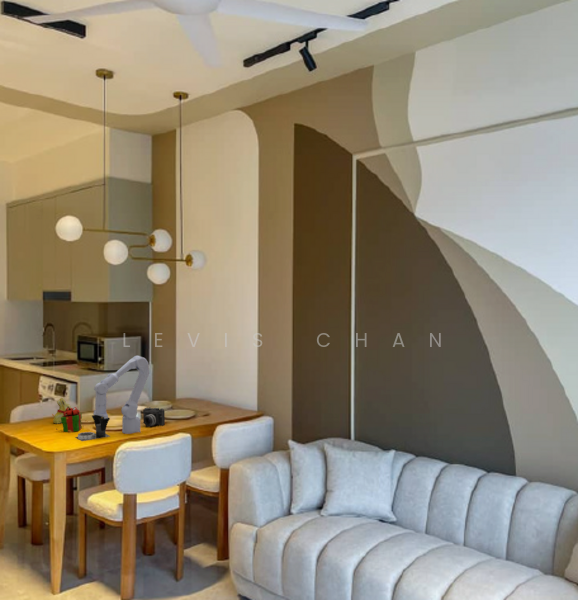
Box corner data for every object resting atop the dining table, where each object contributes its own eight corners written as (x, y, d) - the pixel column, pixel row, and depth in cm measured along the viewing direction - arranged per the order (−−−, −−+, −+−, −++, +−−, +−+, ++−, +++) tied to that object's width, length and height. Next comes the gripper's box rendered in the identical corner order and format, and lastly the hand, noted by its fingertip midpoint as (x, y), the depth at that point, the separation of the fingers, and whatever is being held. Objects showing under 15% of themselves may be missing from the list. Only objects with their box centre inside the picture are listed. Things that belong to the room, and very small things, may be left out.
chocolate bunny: (73, 421, 359) (73, 397, 358) (55, 424, 351) (55, 399, 350) (67, 419, 364) (67, 395, 363) (50, 422, 356) (50, 397, 355)
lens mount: (103, 434, 331) (103, 428, 331) (110, 438, 324) (110, 432, 323) (74, 438, 321) (74, 433, 321) (81, 443, 313) (81, 437, 313)
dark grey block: (103, 433, 329) (103, 422, 328) (106, 435, 325) (107, 424, 325) (94, 435, 325) (94, 424, 325) (98, 437, 322) (98, 426, 321)
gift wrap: (60, 431, 342) (57, 407, 343) (93, 427, 344) (90, 403, 344) (49, 439, 322) (46, 412, 323) (84, 434, 324) (81, 408, 324)
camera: (135, 426, 351) (135, 409, 351) (146, 422, 361) (146, 405, 361) (155, 428, 346) (156, 411, 345) (166, 424, 356) (166, 408, 356)
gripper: (88, 403, 327) (88, 427, 328) (99, 407, 316) (99, 433, 317) (100, 401, 332) (100, 425, 332) (111, 406, 321) (111, 431, 321)
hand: (100, 429), depth 325 cm, fingers open, 7 cm apart
